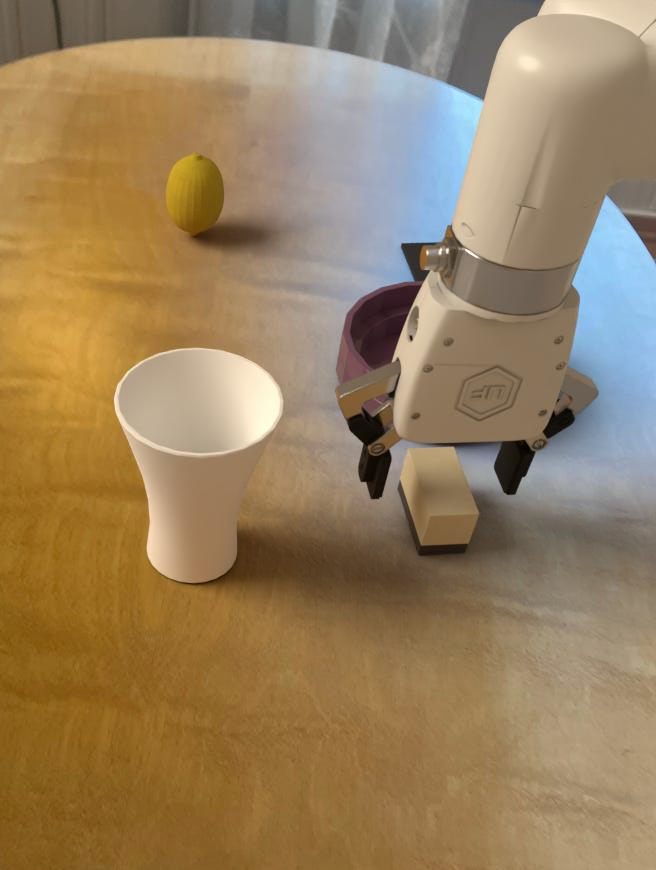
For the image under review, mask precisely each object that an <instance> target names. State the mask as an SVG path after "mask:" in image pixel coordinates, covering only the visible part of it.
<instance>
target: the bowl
mask: <svg viewBox="0 0 656 870" xmlns="http://www.w3.org/2000/svg"><path fill="white" fill-rule="evenodd" d="M423 283H424V281H414V280H413V281H412V280H411V281H410V280H409V281H402V282H398V283H394V284H389V285H385V286H382V287H379V288H377V289H375V290H373V291H371V292H369V293H367V294H366V295H363V296H361V297H360V298H359V299H358V300H357V301H356V302H355V303H354V304H353V306H352V307H351V308H350V309H349V310H348V311H347V313H346V315H345V318H344V324H343V326H342V327H343V328H342V333H341V338H340V344H339V349H338V355H337V361H336V367H335V372H336V376H337V379H338V383H339V385H340V384H342V383H344V382H346V381H349V380H351V379H354V378H356V377H358V376H361V375H363V374H366V373H368V372H370V371H373V370H375V369H377V368H380V367H382V366H385V365H387V364H389V363H392V360H393V356H394V353H395V350H396V347H397V344H398V341H399V338H400V335H401V332H402V330H403V327H404V325H405V322H406V319H407V317H408V314H409V312H410V310H411V308H412V305H413V303H414V301H415V299H416V297H417V295H418V292H419V291H420V289H421V287H422V285H423ZM386 400H387V399H386V396H385V394H384V395H382V396H379V397H377V398H375V399H372V400H370V401H367V402H365V403H364V404H363V405H362V407H363V408H364V409H365V410H366V411H367V412H368V413H369V414H370V413H371V412H373V411H374V410H375V409H376V408H378V407H379V406H380V405H381V404H383V403H384V402H385V401H386ZM391 423H393V419H392V420H391V421H390V422H388V423H387V424H386V425H385V426H384V428H386V427H387V426H389V425H390V424H391Z"/></svg>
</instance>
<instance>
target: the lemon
mask: <svg viewBox="0 0 656 870" xmlns="http://www.w3.org/2000/svg"><path fill="white" fill-rule="evenodd" d="M224 203H225V186H224V179H223V176H222V173H221V171H220V169H219V166H218V165H217V164H216V163H215V162H214V161H213V160H212V159H210V158H209V157H207V156H205V155H203V154H201V153H200V152H197V151H196V152H193V153H192V154H189V155H186V156H183V157H182V158H181V159H179V160H178V161H177V162H176V163H175V164H174V166H173V167H172V169H171V170H170V173H169V176H168V179H167V183H166V188H165V204H166V209H167V213H168V215H169V216H168V217H169V218H170V220H171V221H172V222H173V224H174V225H175V226H176V227H177V228H178V229H180V230H181V231H183V232H186V233H188V234H189V235H190V236H191V237H195V236H197V235H198V234H201V233H203V232H205V231H208V230H209V229H211V228H212V227H213V226H214V225H215V224H216V223H217V222H218V220H219V218H220V216H221V213H222V211H223V208H224Z"/></svg>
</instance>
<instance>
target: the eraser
mask: <svg viewBox="0 0 656 870" xmlns="http://www.w3.org/2000/svg"><path fill="white" fill-rule="evenodd" d="M397 491H398V494H399V498H400V502H401V504H402V507H403V510H404V514H405V517H406V520H407V524H408V527H409V529H410V533H411V536H412V539H413V542H414V546H415V548H416V549H415V550H416V552H417V555H418V556H424V555H425V556H426V555H427V556H428V555H446V554H447V555H448V554H465V553H466V552H467V548H468V546H469V543H470V541H471V538H472V535H473V533H474V530H475V527H476V524H477V522H478V519H479V517H480V512H479V508H478V506H477V504H476V501H475V498H474V496H473V492H472V490H471V487H470V485H469V482H468V480H467V476H466V474H465V472H464V469H463V466H462V464H461V462H460V459H459V456H458V453H457V451H456V448H455V446H433V447H410V448H409V447H408V448H407V450H406V453H405V457H404V461H403V465H402V468H401V473H400V476H399V481H398V485H397Z"/></svg>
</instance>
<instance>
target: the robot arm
mask: <svg viewBox="0 0 656 870" xmlns="http://www.w3.org/2000/svg"><path fill="white" fill-rule="evenodd" d="M476 126H477V127H476V129H475V134H474V137H473V141H472V145H471V149H470V152H469V157H468V161H467V165H466V167H465V172H464V175H463V178H462V182H461V186H460V190H459V194H458V198H457V201H456V205H455V208H454V212H453V215H452V220H451V224H448V225H446V230H445V234H444V237H443V239H442V240H441V241H440V242H441V243H436V244H435V245H426V246H423V247H422V249H421V253H420V267H421V269H422V270H431V271H430V272H429V274H428V276H427V277H426V279H425V281H424V283H423V285H422V287H421V289H420V291H419V292H418V295H417V297H416V299H415V301H414V303H413V305H412V308H411V310H410V312H409V314H408V317H407V319H406V322H405V325H404V327H403V330H402V332H401V335H400V338H399V341H398V344H397V347H396V350H395V353H394V356H393V360H392V363H389V364H387V365H385V366H382V367H380V368H377V369H375V370H373V371H370V372H368V373H366V374H363V375H361V376H358V377H356V378H354V379H351V380H349V381H346V382H344V383H342V384H340V383H339V384H338V385H336V387H335V389H334V393H335V397H336V400H337V403H338V406H339V409H340V411H341V413H342V416H343V418H344V420H345V422H346V425H347V427H348V430H349V431H350V433H352V434H353V436H354V437H355V438H357V439H358V440H359V442H361V443H362V448H361V452H360V457H359V461H358V465H357V473H358V474H357V475H358V478H359V482H361V483H365V484H366V487H367V492H368V495H369V498H370V500H380V498H383V496H384V491H385V488H386V484H387V480H388V476H389V472H390V468H391V465H392V460H393V458H392V457H393V456H392V453H391V448H392V447H394V446H395V445H396V444H398V443H399V442H400V441H402V440H404V441H406V442H410V443H415V444H451V443H452V444H453V443H454V444H455V443H458V444H459V443H490V442H501V445H500V447H499V450H498V452H497V455H496V458H495V460H494V464H493V470H494V473H495V475H496V477H497V480H498V482H499V485H500V488H501V490H502V492H503V494H505V495H506V496H516V494H517V492H518V489H519V487H520V484H521V482H522V479H523V478H525V477H527V474H528V472H529V470H530V468H531V465H532V463H533V460H534V457H535V455H536V453H537V452H540V451H542V450H544V449H546V448H547V447H548V445H549V439H551V438H553V437H555V436H556V435H558V434H559V433H561V432H562V431H564V430H565V429H567V428H569V427H570V426H572V425H573V424H574V423H575V421H576V416H577V415H580V414H581V413H582V412H583V411H584V410H585V409H587V408H588V406H590V404H592V403H593V402H594V401H595V400H596V399H597V398H598V396H599V395H600V394H599V392H600V391H599V390H598V388H597V385H596V384H595V382H594V381H593V379H592V378H591V377H589V376H587V375H585V374H584V373H581V372H580V371H578V370H575V369H573V368H572V367H570V366H568V365H569V362H570V359H571V353H572V350H573V345H574V340H575V337H576V336H575V334H576V329H577V324H578V317H579V312H580V304H581V296H580V294H579V291H578V290H577V288H576V287H575V286H574V285H573V283H574V279H575V277H576V274H577V272H578V269H579V267H580V264H581V262H582V259H583V256H584V255H585V251H586V249H587V246H588V244H589V241H590V238H591V236H592V233H593V231H594V229H595V225H596V224H597V223H596V222H597V220H598V217H599V215H600V212H601V210H602V207H603V204H604V202H605V199H606V197H607V194H608V191H609V190H610V188H611V187H612V186H613V185H615V184H618V183H620V182H656V0H544V1H543V3H542V5H541V7H540V8H539V11H538V13H537V16H534V17H530V18H528V19H526V20H524V21H522V22H520V23H519V24H518V25H515V27H514V28H513V29H512V30H510V31H509V33H508V34H507V35H506V36H505V37H504V39H503V40H502V43H501V44H500V46H499V48H498V51H497V53H496V56H495V59H494V62H493V66H492V69H491V73H490V76H489V80H488V84H487V88H486V92H485V95H484V99H483V104H482V107H481V111H480V114H479V118H478V121H477V125H476ZM560 393H562V395H561V397H560V398H559V396H560ZM384 394H385V396H386V399H387V400H386V401H385V402H384V403H383V404H381V405H380V406H379V407H378V408H376V409H375V410H374V411H373V412H371V413H370V414H369V413H368V412H367V411H366V410H365V409H364V408H363V407H362V405H363V404H364V403H365V402H367V401H370V400H372V399H375V398H377V397H379V396H382V395H384ZM392 419H393V423H391V424H390V425H389V426H387V427H385V425H386V424H387V423H388V422H390V421H391V420H392Z"/></svg>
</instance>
